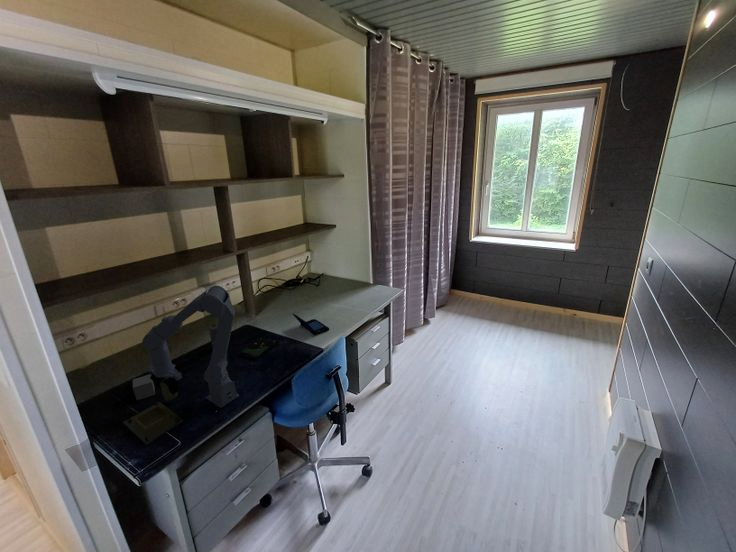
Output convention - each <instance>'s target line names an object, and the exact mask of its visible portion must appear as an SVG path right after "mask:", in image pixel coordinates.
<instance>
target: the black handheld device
mask: <svg viewBox="0 0 736 552" xmlns="http://www.w3.org/2000/svg"><path fill="white" fill-rule="evenodd" d="M292 315H293V317H294V318H295V319H296V320H297V321H298V322H299V323H300V327H302V328H304V329H305V330H307V331H308V332H309V333H311V334H312V335H313V336H314V337H316V336H317V335H318V336H319V335H321V334H323V333H326V332H329V330H330V327H328V326H327V325H325V324H324V323H322V322H321V321H319V320H318V319H316V318H313V319H309V320H307V321H305V320H304V319H302V318H301V317H300V316H298V315H296V314H295V313H292Z"/></svg>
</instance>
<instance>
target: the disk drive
mask: <svg viewBox="0 0 736 552" xmlns="http://www.w3.org/2000/svg"><path fill="white" fill-rule="evenodd" d="M277 346H279V340H278V339H273V338H268V337H266V336H260V337H259V338H257V339H256V340H254V341H253V342H252V343H251V344H249V345H247V347H245V348H244V349H242V350H241V351H240V355H241V356H243V357H246V358H249V359H253V360H256V361H259V360H261V359H262V358H263V357H265V356H266V355H267V354H268V353H270V352H271V351H272V350H274V348H276V347H277Z"/></svg>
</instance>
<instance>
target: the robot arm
mask: <svg viewBox="0 0 736 552" xmlns="http://www.w3.org/2000/svg"><path fill="white" fill-rule="evenodd" d="M197 312H200V313H205V312H206V313H208V314H209V315H212V316H214V317H215V318H217V319H218V323H217V324H218V327H217V332H216V337H215V342H214V347H213V348H212V352H211V353H212V354H211V357H210V361H209V363H208V367H206V368H207V369H206V370H205V371H204V373H203V380H204V381H205V382H206V383H207V385H208V391H209V395H208V396H206V400H207V401H209V402H210V403H212V404H214V405H215V406H216V407H219V408H220V409H222V408H223V407H225V406H227V404H230V403H231V402H233V400H235V399H237V398H238V397H239V396H240V395H239V393H237V390H236V384H235V382H234V381H232V380H231V378H230V377H229V372H228V371H227V367H228V364H229V362H228V359H227V358H228V348H229V343H230V340H231V335H232V334H231V333H232V330H233V324H234V319H235V315H236V310H235V308H234V306H233V302H232V301H231V296H230V293H229V292H228V291H227V290H226V289H225V288H224V287H223V286H222V285H221V286H220V285H213V286H211V287H209V289H208V290H205V291H203V292H202V293H201V294H199V295H198V296H197V297H195V298H194V299H193V300H192V301H191V302H189V303H188V304H187V305H186V306H185V307H183V308H182V309H181V310H180V311H179V312H178V313H177V314H175V315H174V314H173V315H172V314H171V315H168V316H164V317H162V319H161V321H160V323H158V324H157V325H153V326H152V327H151V329H150V330H149V331H148V332H147V333H146V335H144V337H143V338H142V345H143V347H145V348H146V349H147V350H148V353H149V357H150V361H151V364H152V365H150V366H148V367H147V371H148V373H149V374H151V373H152V374H151V377H150V379H151V380H153V383H155V384H156V386H157V387H158V388H159V390H160V391H161V392H162V390H161V386H160V382H161V381H162V380H163V379H164V378H168V379H166V380H165V381H164V383H165V384H166V385H167V386H168V388H169V390H170V392H171V394H172V395H174V394H175V393H177V392H178V393H179V384H180V383H179V382H180V380H181V379H182V378H183V375H182V372H179V371H178V370H177V369H176V368H175V367H176V364H175V363H174V364H173V362H172V358H171V355H170V354H171V353H170V351H169V346H168V343H167V339H169V338H170V337H172V336H173V335H175V333H177V332H178V331H179V330H181V329H182V327H183V322H185V321H186V320H187V319H188V318H190V317H192V316H194V314H195V313H197Z"/></svg>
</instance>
